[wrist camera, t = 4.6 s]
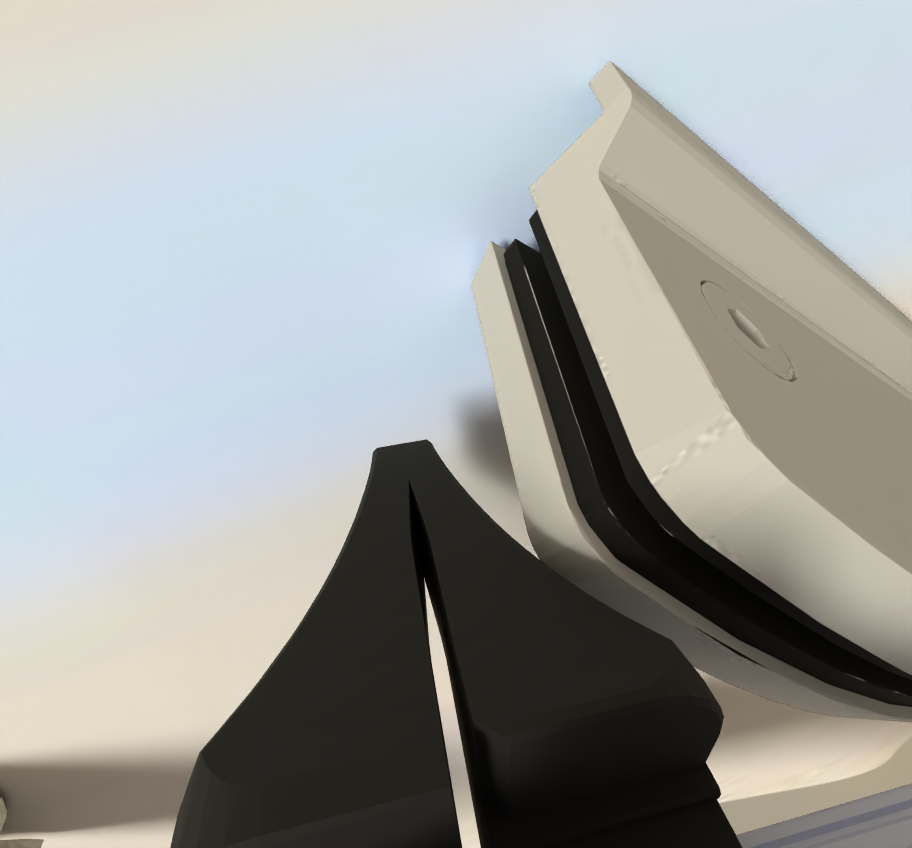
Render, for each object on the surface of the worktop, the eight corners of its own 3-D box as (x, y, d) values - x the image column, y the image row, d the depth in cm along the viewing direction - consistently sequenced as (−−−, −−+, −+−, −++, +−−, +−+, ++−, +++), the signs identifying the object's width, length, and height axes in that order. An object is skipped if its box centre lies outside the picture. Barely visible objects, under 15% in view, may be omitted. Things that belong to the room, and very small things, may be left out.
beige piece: (968, 369, 16) (1305, 722, 10) (822, 444, 19) (1008, 749, 13) (593, 46, 9) (924, 538, 3) (459, 244, 12) (481, 691, 6)
